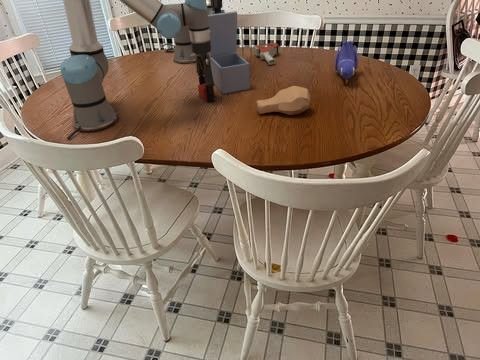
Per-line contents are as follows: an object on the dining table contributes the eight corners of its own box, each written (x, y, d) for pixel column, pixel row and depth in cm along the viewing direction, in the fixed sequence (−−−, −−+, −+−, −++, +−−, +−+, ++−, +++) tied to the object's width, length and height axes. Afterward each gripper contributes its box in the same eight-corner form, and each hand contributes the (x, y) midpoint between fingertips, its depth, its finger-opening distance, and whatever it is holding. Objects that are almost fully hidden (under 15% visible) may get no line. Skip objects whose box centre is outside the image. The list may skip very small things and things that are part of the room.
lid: (237, 12, 145) (230, 3, 150) (208, 16, 142) (202, 6, 147) (236, 51, 158) (230, 42, 163) (209, 56, 155) (204, 46, 160)
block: (214, 96, 147) (213, 85, 144) (204, 100, 145) (203, 88, 142) (209, 93, 150) (207, 82, 148) (199, 96, 148) (197, 85, 146)
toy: (333, 77, 168) (334, 87, 145) (335, 39, 161) (336, 43, 139) (355, 77, 166) (359, 86, 143) (358, 38, 159) (363, 42, 137)
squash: (314, 116, 128) (313, 95, 122) (259, 125, 130) (256, 105, 124) (308, 99, 136) (307, 78, 129) (257, 108, 138) (253, 88, 131)
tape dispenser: (271, 69, 174) (289, 54, 187) (272, 58, 171) (290, 44, 183) (241, 62, 182) (260, 49, 194) (241, 52, 178) (260, 39, 191)
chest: (250, 88, 152) (249, 63, 146) (222, 94, 149) (220, 68, 143) (237, 76, 165) (236, 52, 159) (212, 80, 162) (209, 56, 156)
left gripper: (218, 47, 127) (224, 104, 140) (202, 32, 144) (208, 85, 157) (198, 50, 125) (205, 108, 138) (184, 35, 143) (191, 88, 156)
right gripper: (227, -39, 134) (231, 27, 148) (216, -42, 146) (221, 20, 160) (208, -37, 133) (214, 29, 147) (198, -40, 144) (205, 22, 158)
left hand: (207, 96), depth 148 cm, fingers open, 11 cm apart
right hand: (218, 24), depth 153 cm, fingers closed on lid, 2 cm apart
